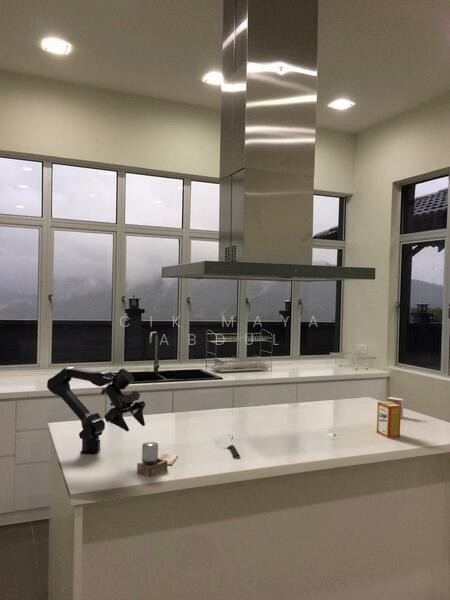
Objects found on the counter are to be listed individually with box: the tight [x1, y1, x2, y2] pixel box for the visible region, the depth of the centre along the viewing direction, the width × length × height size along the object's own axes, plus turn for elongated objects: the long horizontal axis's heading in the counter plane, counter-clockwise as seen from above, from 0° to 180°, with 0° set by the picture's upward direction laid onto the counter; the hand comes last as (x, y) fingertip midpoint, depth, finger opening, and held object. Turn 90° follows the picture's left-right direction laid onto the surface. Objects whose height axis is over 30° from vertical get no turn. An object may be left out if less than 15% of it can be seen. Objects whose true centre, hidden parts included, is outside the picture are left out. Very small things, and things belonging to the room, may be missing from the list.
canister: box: [141, 441, 159, 466], centre depth 188 cm, size 6×6×10 cm
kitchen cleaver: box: [214, 433, 241, 459], centre depth 220 cm, size 31×2×10 cm
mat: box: [158, 452, 178, 467], centre depth 200 cm, size 12×11×1 cm
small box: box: [386, 396, 405, 419], centre depth 281 cm, size 8×6×10 cm
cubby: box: [136, 458, 168, 478], centre depth 187 cm, size 7×10×4 cm
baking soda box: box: [376, 400, 402, 439], centre depth 244 cm, size 10×6×16 cm
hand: (136, 428), depth 195 cm, fingers open, 9 cm apart
